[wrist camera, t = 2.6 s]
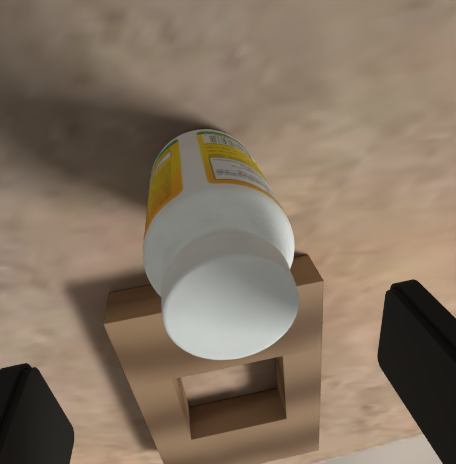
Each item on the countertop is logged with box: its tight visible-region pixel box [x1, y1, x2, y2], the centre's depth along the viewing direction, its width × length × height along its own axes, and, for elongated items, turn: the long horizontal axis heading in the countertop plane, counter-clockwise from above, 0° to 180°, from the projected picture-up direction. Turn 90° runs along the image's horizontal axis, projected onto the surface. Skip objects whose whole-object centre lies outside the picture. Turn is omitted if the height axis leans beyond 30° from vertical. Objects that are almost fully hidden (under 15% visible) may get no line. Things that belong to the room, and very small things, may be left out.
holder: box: [104, 255, 324, 464], centre depth 25 cm, size 18×12×2 cm, turn 7°
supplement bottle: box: [143, 129, 299, 360], centre depth 14 cm, size 5×5×10 cm
